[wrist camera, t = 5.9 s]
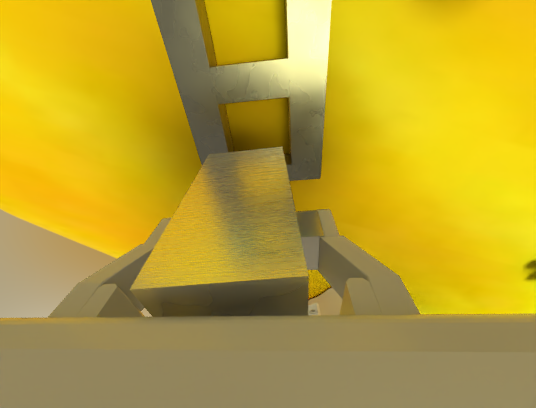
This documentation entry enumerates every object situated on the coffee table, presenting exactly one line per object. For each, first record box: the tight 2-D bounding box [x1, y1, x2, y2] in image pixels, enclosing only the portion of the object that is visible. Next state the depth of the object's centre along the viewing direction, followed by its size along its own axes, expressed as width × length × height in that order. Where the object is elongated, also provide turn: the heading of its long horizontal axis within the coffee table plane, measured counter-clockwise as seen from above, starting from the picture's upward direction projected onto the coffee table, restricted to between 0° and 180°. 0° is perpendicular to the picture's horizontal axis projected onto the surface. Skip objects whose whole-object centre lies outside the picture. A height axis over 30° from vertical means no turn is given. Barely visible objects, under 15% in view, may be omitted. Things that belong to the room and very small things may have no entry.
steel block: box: [130, 147, 309, 317], centre depth 9 cm, size 4×4×8 cm
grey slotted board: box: [151, 0, 332, 181], centre depth 14 cm, size 25×11×3 cm, turn 5°
